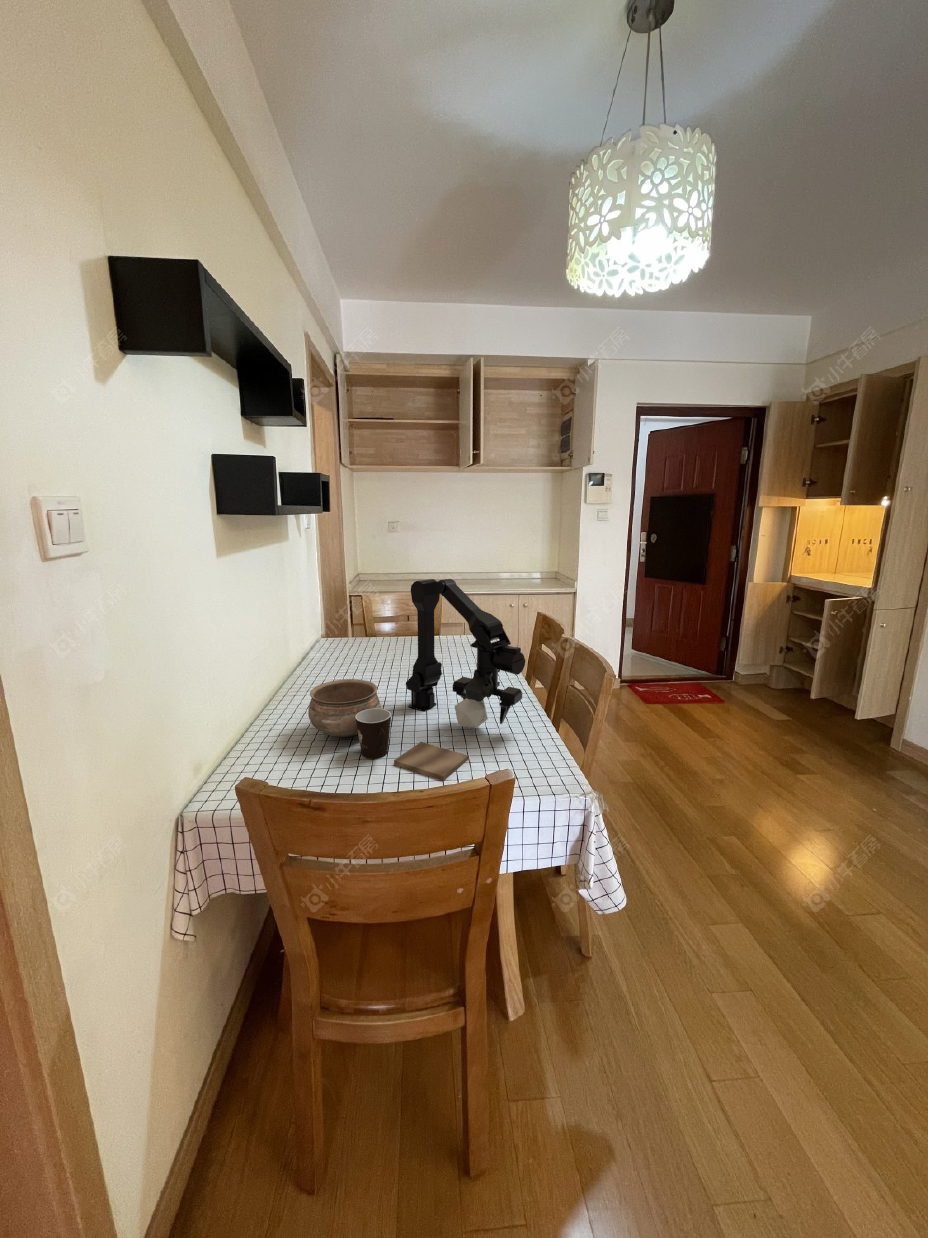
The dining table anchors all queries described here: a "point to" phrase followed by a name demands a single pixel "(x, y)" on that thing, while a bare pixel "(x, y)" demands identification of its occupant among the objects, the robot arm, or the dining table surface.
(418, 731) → the dining table surface
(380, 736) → the coffee mug
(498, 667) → the robot arm
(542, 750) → the dining table surface
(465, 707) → the die
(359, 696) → the cooking pot
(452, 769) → the board
